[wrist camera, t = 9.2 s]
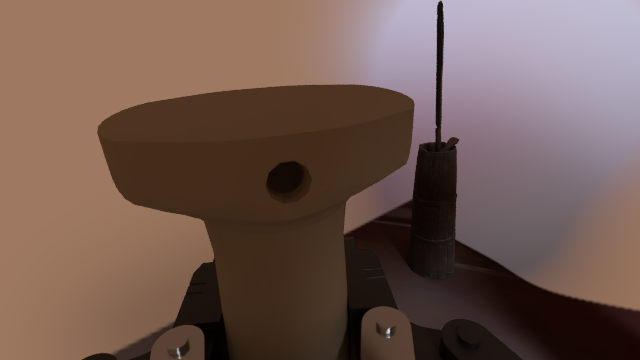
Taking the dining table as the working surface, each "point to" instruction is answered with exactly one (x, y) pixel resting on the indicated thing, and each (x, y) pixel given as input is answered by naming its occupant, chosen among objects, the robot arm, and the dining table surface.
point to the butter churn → (435, 192)
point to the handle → (266, 197)
